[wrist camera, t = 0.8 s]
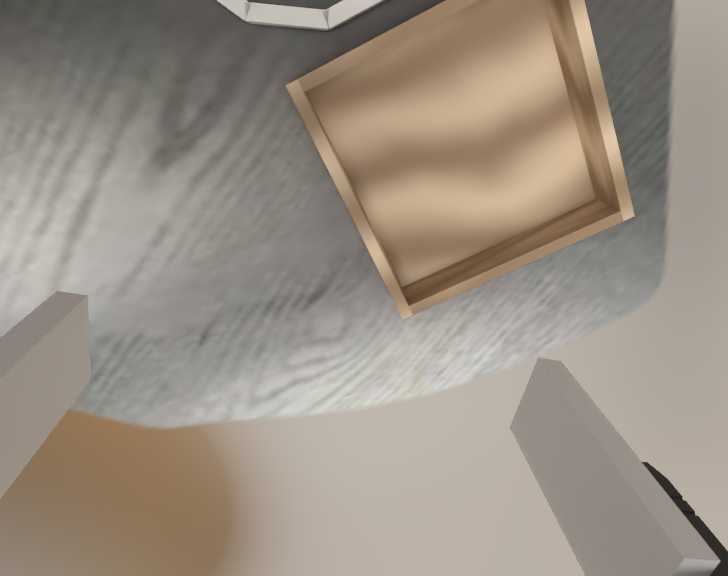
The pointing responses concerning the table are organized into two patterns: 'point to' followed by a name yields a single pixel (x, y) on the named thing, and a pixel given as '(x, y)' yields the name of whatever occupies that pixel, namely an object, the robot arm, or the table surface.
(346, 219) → the table surface
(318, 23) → the socket ring
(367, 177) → the oak bin
